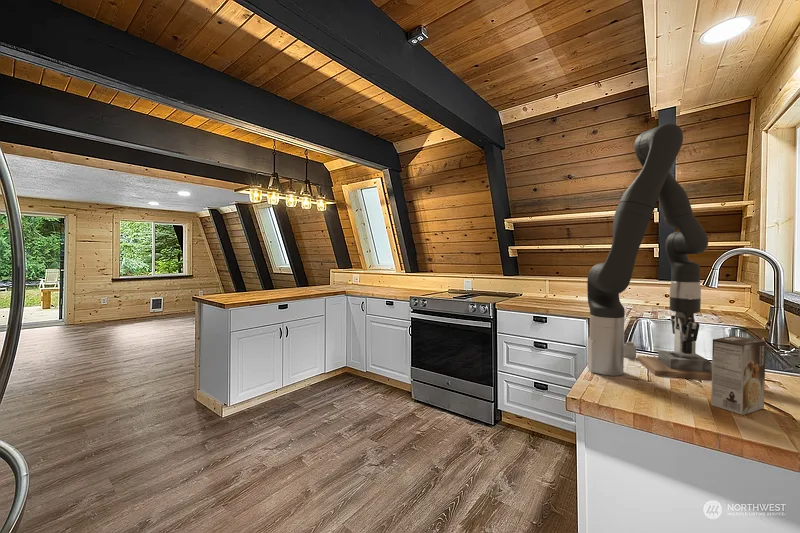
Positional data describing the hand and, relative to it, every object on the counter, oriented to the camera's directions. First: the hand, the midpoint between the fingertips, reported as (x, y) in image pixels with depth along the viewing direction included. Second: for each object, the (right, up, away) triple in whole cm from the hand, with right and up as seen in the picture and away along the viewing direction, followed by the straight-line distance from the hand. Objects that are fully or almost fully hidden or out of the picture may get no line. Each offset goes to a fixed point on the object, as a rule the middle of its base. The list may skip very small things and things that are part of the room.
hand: (683, 351), depth 113 cm
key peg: (0, -3, 0) cm, 3 cm away
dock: (0, -6, 0) cm, 6 cm away
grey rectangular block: (-9, -6, +16) cm, 19 cm away
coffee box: (-8, -7, -27) cm, 29 cm away
